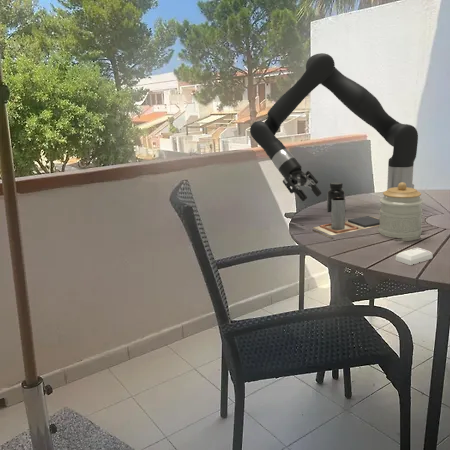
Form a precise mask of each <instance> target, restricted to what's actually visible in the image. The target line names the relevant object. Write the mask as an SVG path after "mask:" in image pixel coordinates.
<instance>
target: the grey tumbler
mask: <svg viewBox="0 0 450 450" xmlns="http://www.w3.org/2000/svg"><path fill="white" fill-rule="evenodd" d="M330 213H331V214H330V215H331V216H330V217H331V218H330V219H331V222H330V223H331V228H332V229H336V230H341V229H344V228H345V221H346V198H341V197H336V198H332V210H331V212H330Z"/></svg>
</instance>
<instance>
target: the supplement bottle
mask: <svg viewBox="0 0 450 450" xmlns="http://www.w3.org/2000/svg"><path fill="white" fill-rule="evenodd" d="M345 193H346V192H345V190H344V189H343V182H336V181H335V182H330V184H329V190H327V194H326V198H327V199H326V212H327V213H331V210H332V198H336V197H341V198H345V197H346V194H345ZM345 199H346V198H345Z"/></svg>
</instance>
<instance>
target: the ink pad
mask: <svg viewBox="0 0 450 450" xmlns="http://www.w3.org/2000/svg"><path fill="white" fill-rule="evenodd" d="M373 217H374V216H370V215H366V216H362V217H354V218H351V219H347V221H348V222H350V223H353V224H356V225H359V226H361V227H364V228H366V227H371V226H376V225H379V224H380V220H379V219H380V218H378V219H376V218H377V217H375V218H373Z"/></svg>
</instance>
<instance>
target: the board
mask: <svg viewBox="0 0 450 450" xmlns="http://www.w3.org/2000/svg"><path fill="white" fill-rule="evenodd" d="M372 217H373V218H376V219H379V220H380V218H378V217H375V216H372ZM376 227H379V225H376V226H371V227H366V228H364V227H361V226H359V225H356V224H353V223H350V222H348V220H345V228H344V229H341V230H336V229H332V228H331V222H330V223H326V224H321V225H319V226H314V227H312V229H311V230H312V232H314V233H317V234H319V235H322V236H324V237H326V238H329V239H331V240H332V239H333V240H334V239H335V237H332V236H337V235H340V234H346V233H351V232H356V231H362V230H366V229H371V228H376Z"/></svg>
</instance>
